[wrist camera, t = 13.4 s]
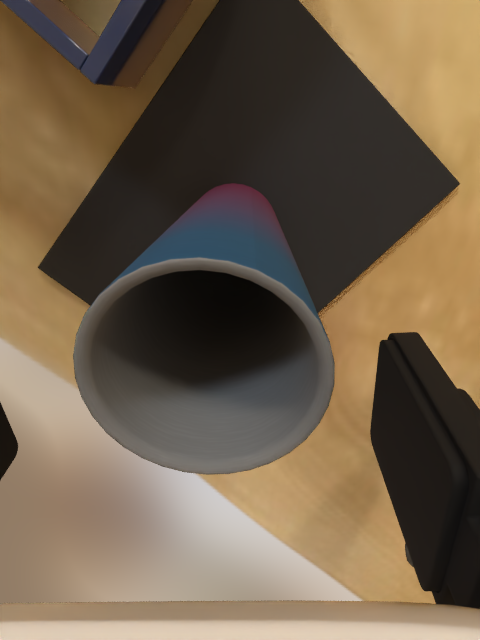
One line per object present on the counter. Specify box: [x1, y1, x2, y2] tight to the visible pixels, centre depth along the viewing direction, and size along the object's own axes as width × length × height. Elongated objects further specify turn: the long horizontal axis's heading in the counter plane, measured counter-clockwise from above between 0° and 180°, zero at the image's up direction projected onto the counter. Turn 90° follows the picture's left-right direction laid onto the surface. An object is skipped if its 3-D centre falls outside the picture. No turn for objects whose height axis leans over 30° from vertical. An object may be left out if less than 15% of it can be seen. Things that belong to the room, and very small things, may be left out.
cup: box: [73, 183, 334, 474], centre depth 18 cm, size 7×7×15 cm
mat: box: [38, 0, 460, 313], centre depth 24 cm, size 15×20×1 cm
